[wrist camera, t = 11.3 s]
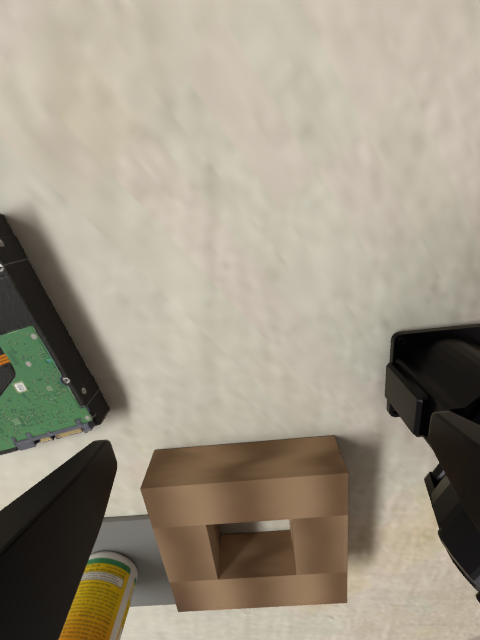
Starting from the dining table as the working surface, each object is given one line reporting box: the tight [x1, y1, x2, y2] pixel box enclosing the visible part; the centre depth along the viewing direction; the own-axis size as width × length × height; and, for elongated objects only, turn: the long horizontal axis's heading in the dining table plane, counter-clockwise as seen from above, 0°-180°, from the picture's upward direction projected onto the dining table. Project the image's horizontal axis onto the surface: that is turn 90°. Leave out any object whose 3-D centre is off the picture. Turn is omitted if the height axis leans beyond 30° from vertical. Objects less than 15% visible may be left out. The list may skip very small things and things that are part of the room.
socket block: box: [141, 435, 349, 612], centre depth 25 cm, size 14×14×4 cm
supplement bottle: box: [59, 551, 138, 640], centre depth 24 cm, size 5×5×10 cm
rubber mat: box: [91, 515, 176, 607], centre depth 29 cm, size 12×12×1 cm
